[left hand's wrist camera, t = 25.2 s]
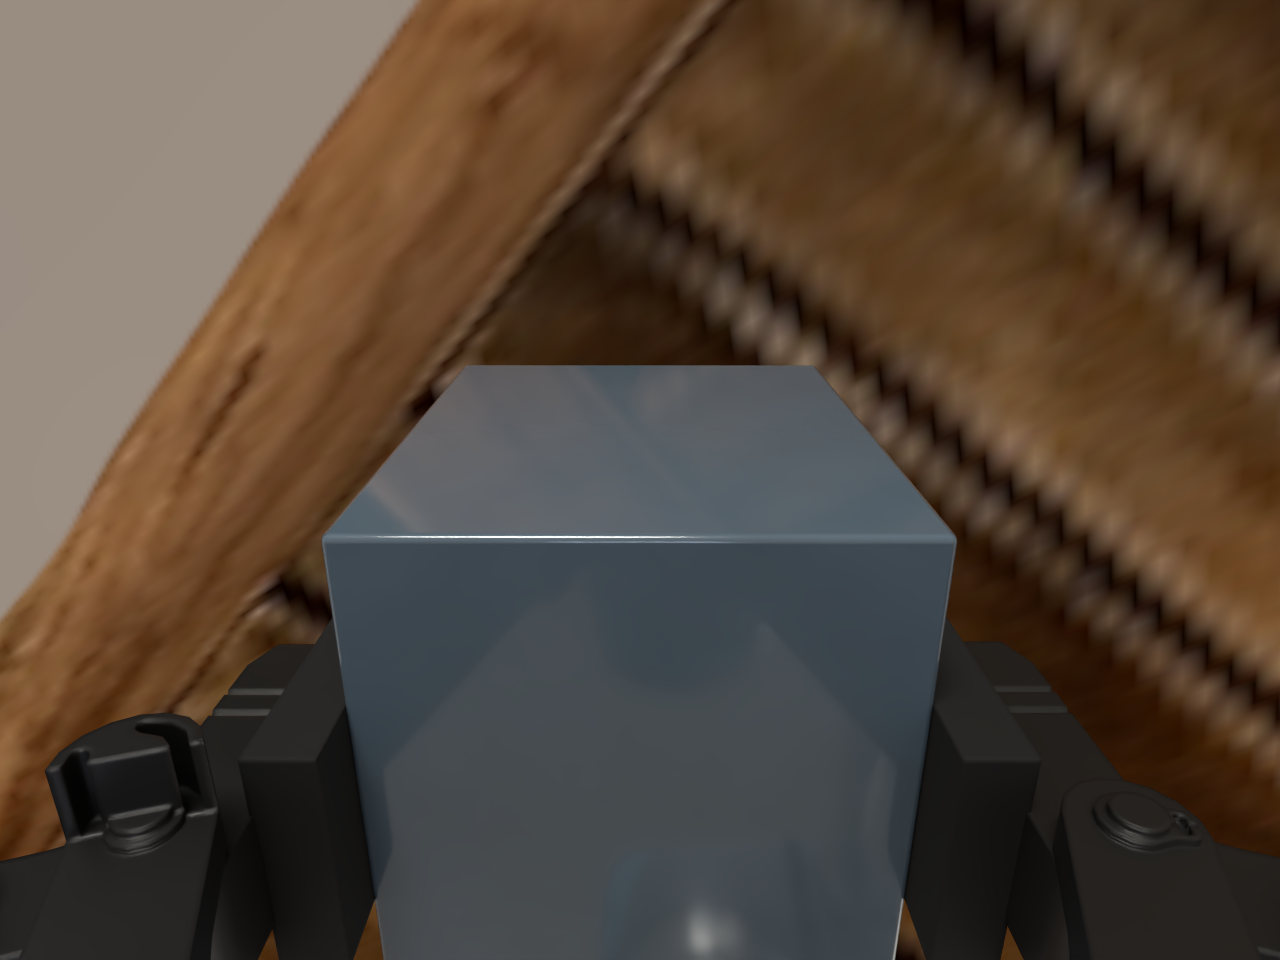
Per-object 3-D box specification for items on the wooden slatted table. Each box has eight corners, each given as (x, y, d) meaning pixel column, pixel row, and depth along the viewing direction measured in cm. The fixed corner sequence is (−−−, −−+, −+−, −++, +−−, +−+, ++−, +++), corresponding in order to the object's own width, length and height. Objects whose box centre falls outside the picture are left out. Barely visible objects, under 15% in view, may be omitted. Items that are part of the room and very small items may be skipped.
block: (815, 364, 15) (961, 537, 8) (791, 677, 17) (889, 1014, 10) (463, 364, 15) (316, 536, 8) (487, 677, 17) (387, 1013, 10)
